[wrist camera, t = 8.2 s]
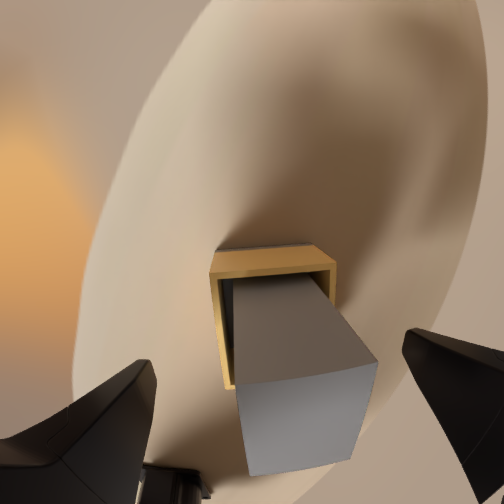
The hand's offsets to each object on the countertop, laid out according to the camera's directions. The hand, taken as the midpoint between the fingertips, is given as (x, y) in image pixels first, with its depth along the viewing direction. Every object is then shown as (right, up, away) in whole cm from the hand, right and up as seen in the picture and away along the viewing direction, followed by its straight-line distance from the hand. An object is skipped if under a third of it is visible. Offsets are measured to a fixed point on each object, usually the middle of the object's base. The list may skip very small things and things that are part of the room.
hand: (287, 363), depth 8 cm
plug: (0, +1, +5) cm, 5 cm away
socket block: (0, +1, +5) cm, 6 cm away
